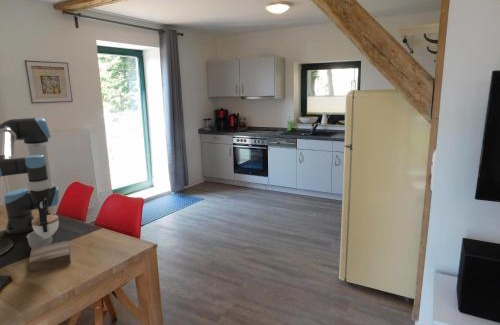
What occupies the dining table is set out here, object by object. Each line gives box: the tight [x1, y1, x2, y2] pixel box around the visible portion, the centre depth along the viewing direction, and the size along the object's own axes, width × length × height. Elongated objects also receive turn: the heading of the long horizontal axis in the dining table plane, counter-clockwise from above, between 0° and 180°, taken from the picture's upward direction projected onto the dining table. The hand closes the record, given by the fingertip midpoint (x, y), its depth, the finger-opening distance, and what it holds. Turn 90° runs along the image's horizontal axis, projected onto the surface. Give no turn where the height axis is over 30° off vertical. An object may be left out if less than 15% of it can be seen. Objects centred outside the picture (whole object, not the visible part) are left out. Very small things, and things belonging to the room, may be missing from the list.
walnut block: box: [28, 240, 72, 273], centre depth 154 cm, size 16×16×5 cm
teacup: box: [26, 231, 53, 249], centre depth 168 cm, size 14×11×8 cm
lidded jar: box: [31, 214, 60, 237], centre depth 151 cm, size 11×11×9 cm
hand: (47, 233), depth 152 cm, fingers closed on lidded jar, 11 cm apart
